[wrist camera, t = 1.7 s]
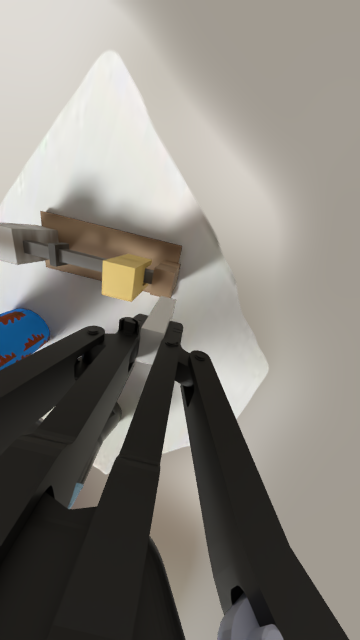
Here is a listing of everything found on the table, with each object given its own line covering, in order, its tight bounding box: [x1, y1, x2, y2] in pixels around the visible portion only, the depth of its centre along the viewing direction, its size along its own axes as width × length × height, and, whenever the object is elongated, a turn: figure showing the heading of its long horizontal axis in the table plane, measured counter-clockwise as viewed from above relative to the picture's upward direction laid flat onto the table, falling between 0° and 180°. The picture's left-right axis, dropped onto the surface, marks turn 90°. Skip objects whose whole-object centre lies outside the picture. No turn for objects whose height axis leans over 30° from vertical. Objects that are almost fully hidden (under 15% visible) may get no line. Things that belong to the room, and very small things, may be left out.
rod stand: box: [0, 211, 182, 298], centre depth 31 cm, size 10×28×10 cm, turn 77°
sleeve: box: [102, 254, 152, 302], centre depth 27 cm, size 4×4×9 cm
